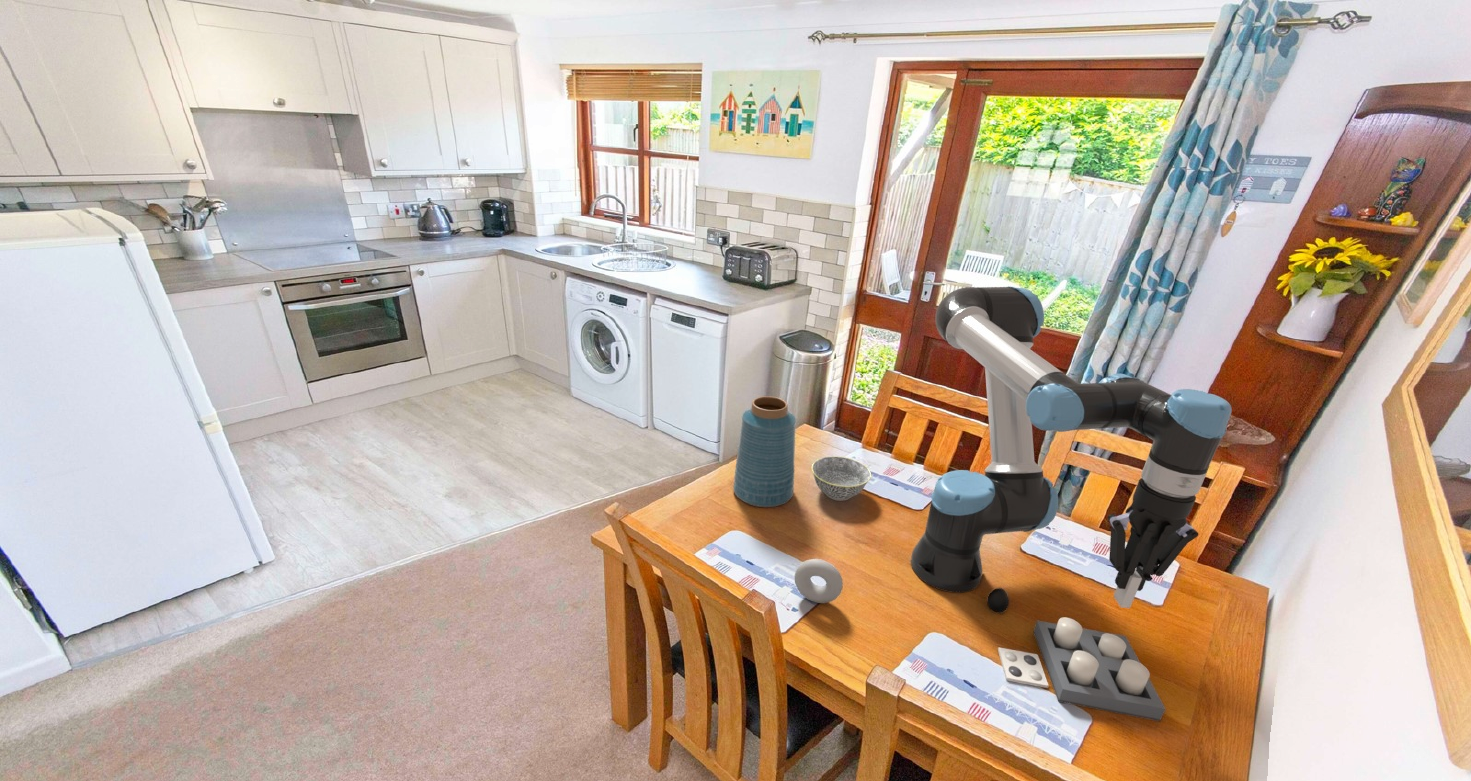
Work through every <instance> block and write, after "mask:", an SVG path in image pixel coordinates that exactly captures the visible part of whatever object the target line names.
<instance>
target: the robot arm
mask: <svg viewBox="0 0 1471 781" xmlns="http://www.w3.org/2000/svg"><path fill="white" fill-rule="evenodd" d="M1042 304H1043V303H1042V302H1041V300H1040V298H1039V297H1038V296H1037V295H1036V294H1035V293H1033V292H1032V291H1031V290H1029V289H1027V288H1025V287H1024V288H1023V287H1015V286H1009V285H1008V286H994V287H993V286H988V287H986V286H985V287H984V286H983V287H981V286H980V287H975V286H965V287H961V288H958V289H955V290H952V291H951V292H949V293H948V294H947V295H945V297H944V298H943V299H942V300H941V301H940V302H939V304H938V305H937V306H938V307H937V308H936V312H935V319H934V320H935V321H934V322H935V327H936V329H937V332H938V334H939V335H940V336H941V338H942V339H943V340H944V341H945V342H946V343H947V344H949V345H950V346H951V347H953V348H955V349H956V350H957V349H958V350H964V352H966V353H967V354H969V355H970V356H971V357H972V358H973V359H975V361H976V362H978V363H979V364H980V365H982V367H984V370H985V371H984V372H985V385H986V387H985V388H986V399H987V413H988V414H987V415H988V428H989V429H988V430H989V444H990V456H991V457H990V458H991V462H990V463H989V465H988V466H987V467H986V468H985V469H984V474H983V473H980V472H977V471H972V472H971V471H970V470H967V469H960V470H959V469H955V470H951V471H949V472H946V473H944V474H942V475H941V476H940V477H939V478H938V479H937V480H936V483H935V485H934V489H933V491H932V494H931V502H930V507H929V511H928V516H927V521H926V525H925V526H926V527H925V531H924V533H923V535H922V536H921V537H920V539H919V540H918V542H917V543H916V545H915V546H914V548H913V550H912V553H911V557H910V565H911V568H912V570H913V572H914V573H915V574H916V575H917V576H918V578H920V580H922V581H924V582H925V583H926V584H927V585H929V586H932V587H934V588H936V589H938V590H941V591H944V592H951V593H967V592H970V591H973V590H974V589H977V587H978V586H979V584H980V583H981V580H982V575H983V565H982V564H983V563H982V558H981V557H982V556H981V551H980V549H981V545H982V541H983V537H984V536H985V535H993V534H995V535H996V534H1003V533H1005V534H1006V533H1017V532H1023V533H1024V532H1025V533H1027V532H1032V531H1035V530H1040V529H1041V530H1042V529H1044V528H1046V527H1047V526H1049V525H1050V524H1051V522H1053V521H1054V520H1055V517H1056V515H1057V513H1058V509H1059V494H1058V492H1057V489H1056V487H1053V486H1054V484H1053V482H1052V481H1051V480H1050V479H1049V478H1047V477H1045V476H1044V469H1043V468H1042V467H1041V466H1040V465H1039V464H1037V463H1036V461H1035V451H1034V440H1033V438H1034V437H1033V426H1034V427H1035V428H1037V429H1039V430H1041V431H1049V432H1052V431H1054V432H1060V433H1062V432H1070V431H1085V430H1086V431H1087V430H1096V429H1118V428H1122V429H1123V428H1127V429H1130V430H1133V431H1135V432H1136V433H1138V434H1140V435H1142V436H1144V437H1146V438H1148V439H1150V440H1152V441H1153V442H1152V445H1151V447H1150V449H1149V450H1150V451H1149V453H1148V456H1147V459H1146V461H1145V464H1144V466H1143V468H1142V470H1141V473H1140V477H1141V478H1140V479H1138V482H1137V484H1136V487H1135V490H1134V492H1133V495H1132V503H1131V504H1130V506H1128V507H1127V509H1126V510H1125V513H1122V514H1120V515H1117V516H1116V514H1114V513H1111V514H1108V515H1107V520H1108V523H1109V525H1110V537H1109V538H1110V541H1109V542H1110V543H1109V557H1108V558H1109V562H1110V563H1111V564H1112V566H1113V568H1114V569H1115V570H1116V571H1117V573H1116V577H1115V579H1114V583H1115V585H1116V588H1115V591H1114V593H1113V598H1114V599H1115V601H1116V603H1117V604H1118V605H1119V607H1120V608H1124V609H1131V606H1132V604H1133V602H1134V599H1135V596H1136V594H1137V592H1141V591H1142V590H1143V588H1144V586H1145V584H1146V582H1151V581H1153V579H1154V578H1153V577H1152V576H1156V577H1162V576H1163V575H1164V573H1166V571H1167V570H1168V569H1169V567H1170V566H1171V565H1172V563H1173V562H1174V561H1175V560H1176V559H1177V558H1178V556H1179V555H1180V554H1181V552H1182V551H1183V550H1184V549H1185V547H1186V546H1187V545H1188V544H1189V543H1190V542H1192V541H1193V540H1195V539H1196V538H1197V537H1199V532H1198V531H1197V530H1196V529H1195V528H1194V527H1193V526H1192V524H1190V523H1189V522H1188V520H1187V517H1189V516H1190V513H1191V512H1192V509H1193V507H1194V505H1195V502H1196V501H1197V494H1199V492H1200V489H1201V487H1202V486H1203V483H1204V480H1205V478H1206V476H1207V474H1208V471H1209V468H1210V466H1211V463H1212V461H1213V458H1214V456H1215V454H1216V451H1217V449H1218V447H1219V445H1220V443H1221V441H1222V440H1223V437H1224V436H1225V435H1226V433H1227V426H1228V423H1229V421H1230V418H1231V415H1232V410H1233V409H1232V405H1231V404H1230V403H1229V402H1228V401H1227V400H1226V399H1225V398H1224V397H1223V398H1222V397H1221V396H1218V395H1217V394H1213V393H1209V392H1206V391H1203V390H1198V389H1197V390H1196V389H1192V388H1191V389H1190V388H1181V389H1176V390H1174V391H1173V392H1172V393H1171V394H1170V393H1168V392H1166V391H1164V390H1162V389H1159V388H1158V387H1156V386H1153V385H1151V384H1149V383H1146V382H1145V381H1144V380H1143V379H1140V378H1138V377H1136V376H1135V377H1134V376H1130V375H1127V374H1126V373H1125V374H1124V373H1112V374H1110V375H1109V376H1107V377H1103V378H1102V379H1101V380H1100V381H1099V382H1093V383H1092V382H1091V383H1090V382H1089V383H1088V382H1087V383H1081V382H1078V381H1076V380H1074V379H1073V378H1071V377H1070V376H1069V375H1067V374H1066V373H1064V372H1063V371H1062V370H1060V369H1059V368H1057V367H1056V366H1055V365H1053V364H1051V363H1050V362H1049V361H1047V360H1046V359H1044V358H1043V357H1042V356H1040V355H1039V354H1038V353H1036V352H1035V351H1033V350H1032V349H1031V348H1032V347H1033V346H1034V338H1035V337H1036V336H1038V335H1039V334H1040V332H1041V331H1042V328H1041V327H1043V325H1044V322H1045V311H1044V307H1043V305H1042ZM1129 523H1130V526H1131V528H1130V529H1129V530H1130V535H1129V537H1128V540H1126V538H1127V537H1126V536H1127V533H1126V531H1127V530H1128V524H1129ZM1126 541H1127V542H1126Z"/></svg>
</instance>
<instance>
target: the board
mask: <svg viewBox="0 0 1471 781" xmlns="http://www.w3.org/2000/svg"><path fill="white" fill-rule="evenodd" d="M1057 624H1058V623H1055V622H1054V623H1053V622H1048V621H1042V620H1036V622H1035V625H1034V629H1033V631H1032V632H1033V635H1034V638H1035V642H1036V644H1037V646H1038V650H1039V652H1040V655H1041V658H1042V660H1043V662H1044V666H1045V668H1046V671H1047V675H1048V677H1049V680H1050V683H1051V686H1052V689H1053V691H1054V694H1055V697H1056V699H1057V702H1059V703H1064V704H1069V705H1073V706H1074V705H1075V706H1079V707H1084V708H1089V709H1094V710H1101V711H1104V712H1105V711H1106V712H1110V713H1115V714H1120V715H1125V716H1130V717H1134V718H1136V717H1137V718H1140V719H1146V720H1151V721H1155V722H1161V719H1162V718H1163V715H1164V713H1165V711H1166V707H1165V705H1164V703H1163V701H1162V699H1161V698H1160V696H1159V694H1158V692H1157V690H1156V689H1155V686H1154V685H1153V683H1152V681H1151V679H1150V677H1149V678H1148V681H1147V683H1146V685H1145V687H1144V689H1143V692H1142V694H1141V695H1138V696H1134V695H1130V694H1128V693H1126V692H1124V691H1123V690H1121V689H1120V688H1119V687H1118V685H1117V684H1116V681H1115V679H1116V677H1117V674H1118V672H1119V670H1120V667H1121V665H1122V662H1123V661H1124V660H1126V659H1130V660H1134V661H1137V662H1139V663H1141V661H1140V660H1139V657H1138V655H1137V654H1136V653H1135V652H1136V651H1135V650H1134V649H1133V646H1132V645H1131V643H1130V641H1129V639H1128V638H1127V636H1126V635H1123V634H1118V633H1117V634H1116V633H1111V632H1108V633H1109V634H1113V635H1116V636H1118V637H1119V638H1121V639H1122V640H1123V641H1124V642H1125V644H1126V650H1125V652H1124V654H1123V657H1122V659H1115V658H1110V657H1104V656H1102V655H1101V653H1100V651H1099V649H1098V644H1099V641H1100V639H1101V636H1102V635H1103V634H1105V633H1107V632H1106V631H1098V630H1094V629H1089V628H1083V627H1082V629H1083V631H1082V634H1081V636H1080V639H1079V642H1078V644H1077V647H1076V649H1074V650H1067V649H1064V648H1062V647H1060V646H1059V645H1057V644H1056V643H1055V641H1054V639H1053V635H1054V633H1055V630H1056V627H1057ZM1077 650H1081V651H1085V652H1087V653H1089V654H1091V655H1092V656H1094V657H1095V658H1096V659H1097V661H1098V663H1099V667H1098V669H1097V672H1096V674H1095V677H1094V679H1093V682H1092V684H1091V685H1089V686H1082V685H1079V684H1077V683H1075V682H1074V681H1072V680H1071V679H1070V678H1069V676H1068V675H1067V668H1068V666H1069V663H1070V660H1071V658H1072V655H1073V653H1074V652H1075V651H1077Z"/></svg>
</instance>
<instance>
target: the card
mask: <svg viewBox="0 0 1471 781" xmlns="http://www.w3.org/2000/svg"><path fill="white" fill-rule="evenodd" d="M997 650H998V655H999V656H998V657H999V658H1000V664H1001V666H1002V669H1003V674H1004V678H1005V680H1006V681H1009V682H1015V683H1020V684H1025V685H1030V686H1034V687H1040V688H1045V689H1048V688H1049V683H1048V680H1047V678H1046V677H1047V676H1046V674H1045V671H1044V669H1043V666H1042V663H1041V661H1040V660H1041V659H1040V658H1039V657H1040V656H1039V655H1038V654H1037V653H1032V652H1027V651H1022V650H1021V651H1020V650H1017V649H1016V650H1014V649H1010V648H1005V647H997Z"/></svg>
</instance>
